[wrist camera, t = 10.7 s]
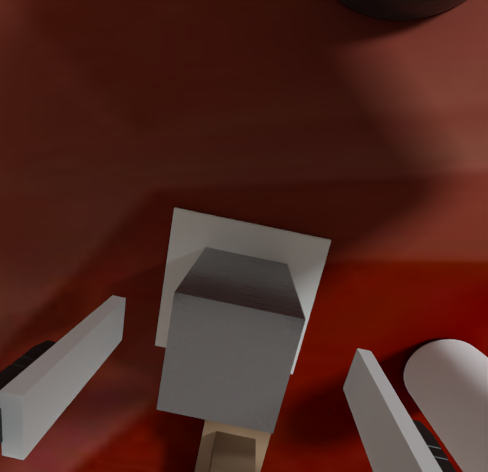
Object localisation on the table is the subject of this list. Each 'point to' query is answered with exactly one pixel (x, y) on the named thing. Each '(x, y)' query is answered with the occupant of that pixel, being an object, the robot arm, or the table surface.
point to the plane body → (231, 448)
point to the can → (453, 397)
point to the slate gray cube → (231, 341)
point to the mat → (241, 242)
